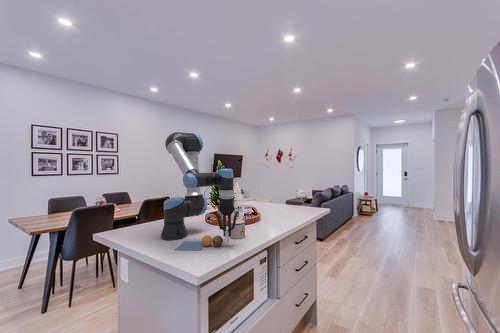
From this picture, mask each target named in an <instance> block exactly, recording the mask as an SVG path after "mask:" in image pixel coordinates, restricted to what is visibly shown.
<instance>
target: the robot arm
mask: <svg viewBox="0 0 500 333" xmlns="http://www.w3.org/2000/svg"><path fill="white" fill-rule="evenodd" d="M164 144H165V146H164V147H165V148H166V151H167V152H168V154H170V155H171V156H172V158H173V160H174V162H175V163H176V164H177V166H178V168H179V170H180V172H181V173H182V174H183V177H182V184H183V186H184V187H185V188H186V193H185V195H184V197H183V196H178V197H177V196H176V197H171V198H168V199H166V200H164V202H163V227H162V230H161V233H160V234H161V235H160V236H161V237H160V238H161V239H162V240H164V241H176V240H180V239H185V238H186V237H187V236H188V230H187V228H186V224H185V218H191V217H197V216H198V217H199V216H201V215H204V214H205V213H206V211H207V208H208V201H207V197H205V196H204V194H203V193H202V192H201V188H203V187H205V188H207V187H218V191H219V196H218V197H219V208H218V209H217V210H215V211H214V214H215V216H216V219H217V223H218V226H219V230H222V231H223V237H225V244H228V245H229V244H230V238H231V237H230V236H231V230H233V229H234V228H235V223H236V219H237V217H238V215H239V213H240V211H239V210H237V209H236V208H235V199H234V196H235V194H234V193H235V192H234V189H235V188H234V177H235V176H234V170H233V169H232V168H220V169H218V172H215V171H211V172H200V168H199V155H200V154H201V152H202V150H203V147H204V142H203V138H202V136H200V134H198V133H193V132H192V133H191V132H180V131H177V132H172V133H170V134H169V135H168V136H167V137H166V139H165V142H164ZM220 214H221V215H222V218H221V215H220ZM232 214H234V215H233V219H232ZM232 220H233V224H232V227H231V221H232Z"/></svg>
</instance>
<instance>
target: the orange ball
mask: <svg viewBox="0 0 500 333" xmlns="http://www.w3.org/2000/svg"><path fill="white" fill-rule="evenodd" d="M212 240H213V237H212V236H211V235H207V234H206V235H204V236H203V237H202V238H201V241H202V244H203V245H204V246H205V247H209V246H210V245H211V244H213V242H212Z"/></svg>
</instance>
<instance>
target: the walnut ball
mask: <svg viewBox="0 0 500 333" xmlns="http://www.w3.org/2000/svg"><path fill="white" fill-rule="evenodd" d="M223 242H224V239H223V236H221V235H215V236H213V237H212V245H213V246H214V247H220V246H222V245H223Z"/></svg>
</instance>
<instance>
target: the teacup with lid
mask: <svg viewBox="0 0 500 333" xmlns="http://www.w3.org/2000/svg"><path fill="white" fill-rule="evenodd" d="M245 223H246V221H245V220H244V219H240V217H239V216H237V219H236V223H235V228H234V229H233V230H231V236H230V237H229V238H231V239H235V240H240V239H244V238H245V236H246V227H245V226H246V224H245ZM232 224H233V219H231V227H232Z"/></svg>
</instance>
